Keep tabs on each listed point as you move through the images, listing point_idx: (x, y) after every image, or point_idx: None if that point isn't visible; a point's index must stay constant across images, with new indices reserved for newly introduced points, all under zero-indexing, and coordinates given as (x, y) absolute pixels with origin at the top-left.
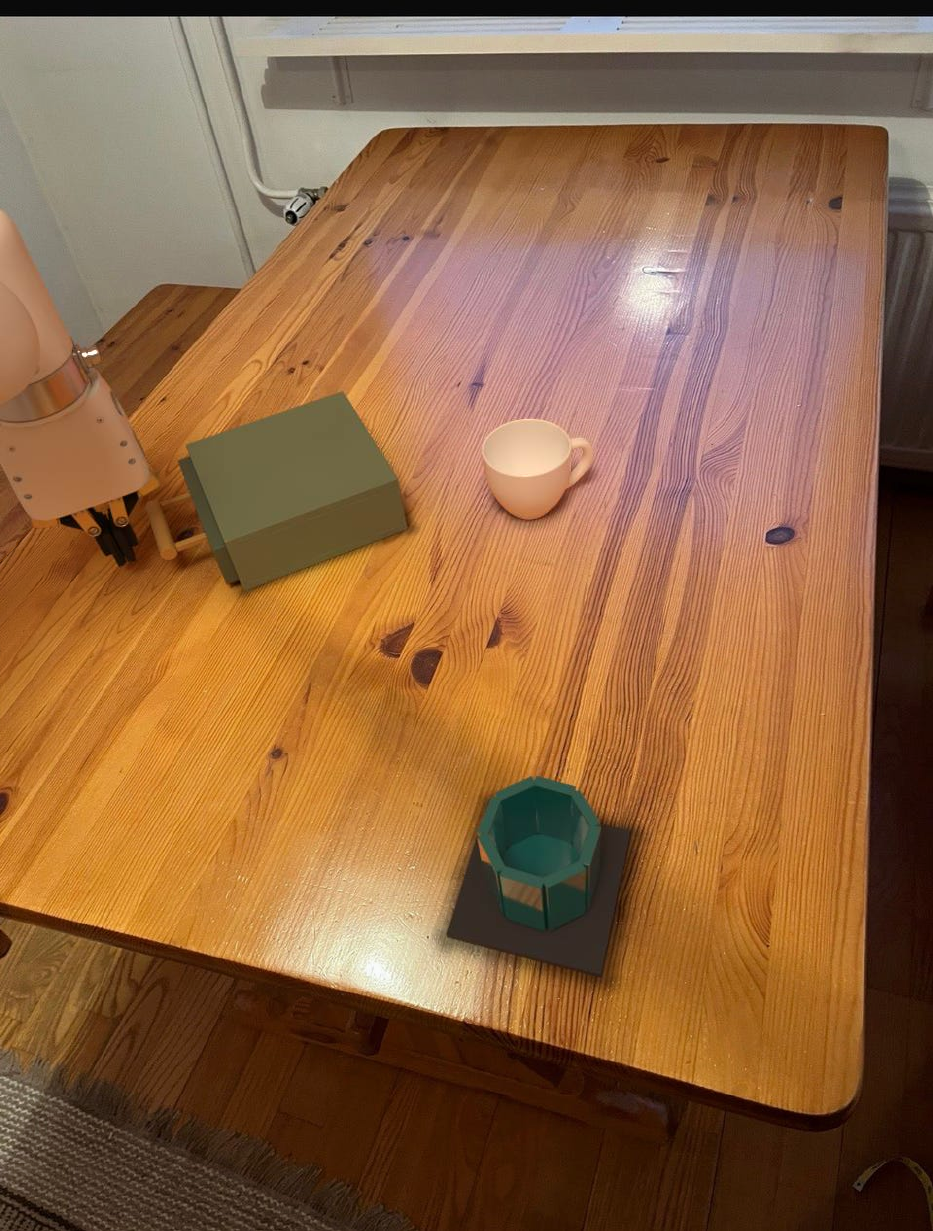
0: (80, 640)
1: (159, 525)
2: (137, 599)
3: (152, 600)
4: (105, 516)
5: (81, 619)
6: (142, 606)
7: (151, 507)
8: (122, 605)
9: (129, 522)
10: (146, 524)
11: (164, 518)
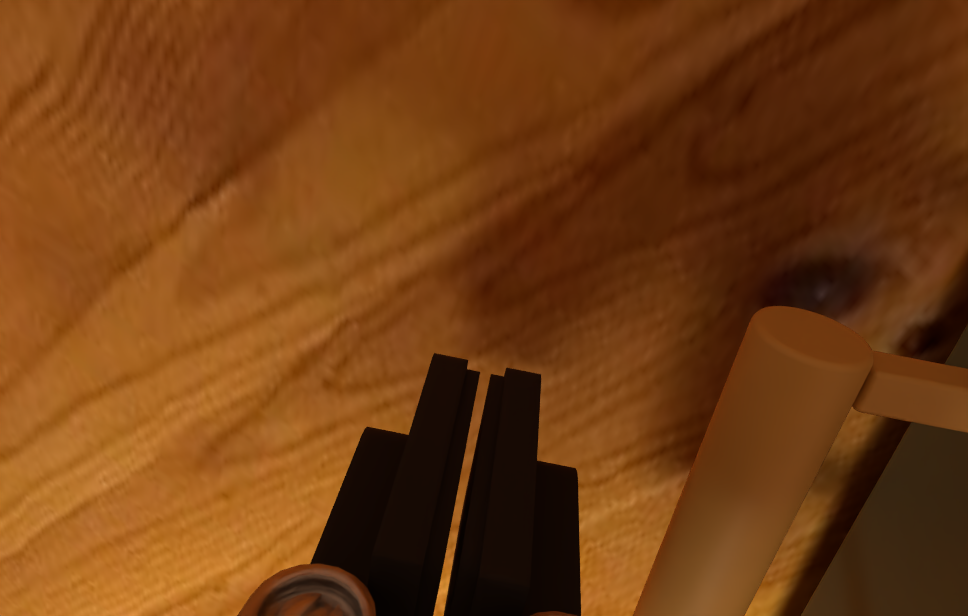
0: (190, 515)
1: (726, 595)
2: None
3: None
4: (433, 601)
5: (207, 436)
6: None
7: (789, 440)
8: None
9: (577, 554)
10: (702, 45)
11: (791, 522)
